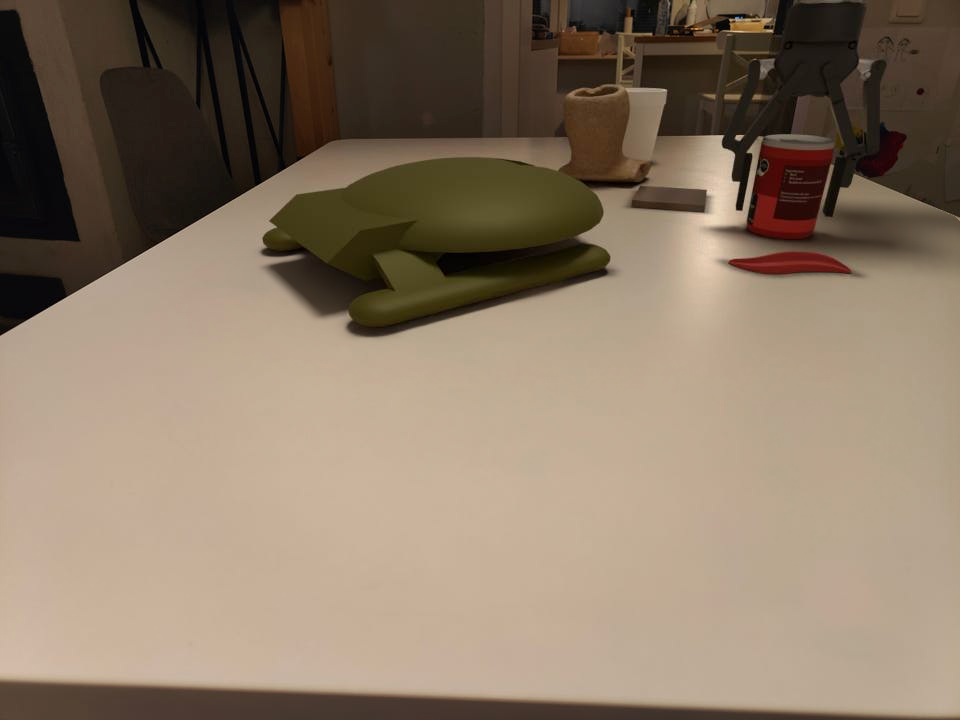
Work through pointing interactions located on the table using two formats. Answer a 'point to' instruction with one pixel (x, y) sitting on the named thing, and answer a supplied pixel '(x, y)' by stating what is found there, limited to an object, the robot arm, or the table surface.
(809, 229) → the canned food
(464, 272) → the spaceship
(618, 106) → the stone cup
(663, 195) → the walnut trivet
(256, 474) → the table surface
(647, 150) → the foam cup
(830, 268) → the cayenne pepper
